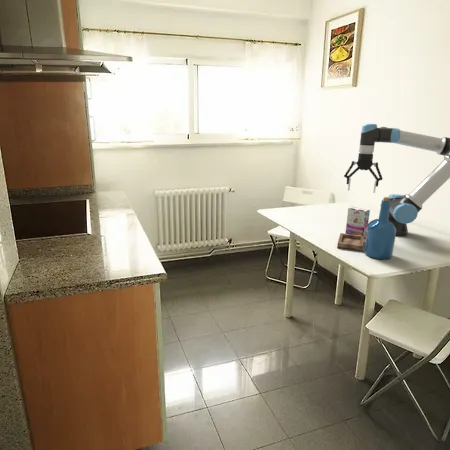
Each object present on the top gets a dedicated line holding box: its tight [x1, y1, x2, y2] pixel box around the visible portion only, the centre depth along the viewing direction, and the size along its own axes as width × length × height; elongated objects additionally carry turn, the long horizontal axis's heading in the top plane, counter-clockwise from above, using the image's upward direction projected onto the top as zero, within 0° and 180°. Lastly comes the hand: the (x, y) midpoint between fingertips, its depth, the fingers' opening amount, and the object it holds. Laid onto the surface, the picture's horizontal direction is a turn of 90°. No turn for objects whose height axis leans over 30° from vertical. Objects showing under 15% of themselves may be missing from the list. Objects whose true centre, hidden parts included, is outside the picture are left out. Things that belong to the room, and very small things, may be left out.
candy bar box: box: [344, 206, 371, 239], centre depth 220 cm, size 11×5×16 cm, turn 45°
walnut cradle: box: [336, 232, 365, 252], centre depth 207 cm, size 12×18×3 cm
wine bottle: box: [364, 196, 397, 260], centre depth 188 cm, size 14×13×30 cm
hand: (361, 191), depth 214 cm, fingers open, 13 cm apart
